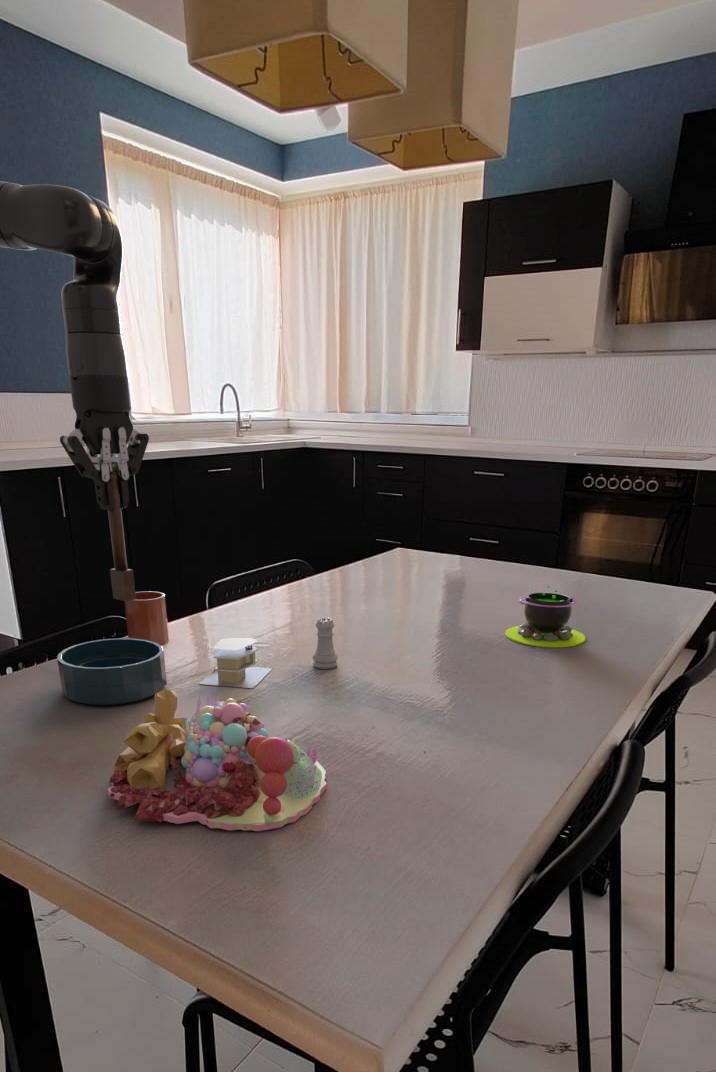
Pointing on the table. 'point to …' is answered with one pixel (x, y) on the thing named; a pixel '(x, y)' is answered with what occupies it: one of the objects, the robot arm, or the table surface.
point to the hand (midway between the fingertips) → (113, 507)
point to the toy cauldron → (546, 621)
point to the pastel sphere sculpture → (214, 769)
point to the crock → (147, 617)
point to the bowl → (112, 671)
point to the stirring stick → (119, 549)
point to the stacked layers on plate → (236, 664)
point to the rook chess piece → (325, 645)
